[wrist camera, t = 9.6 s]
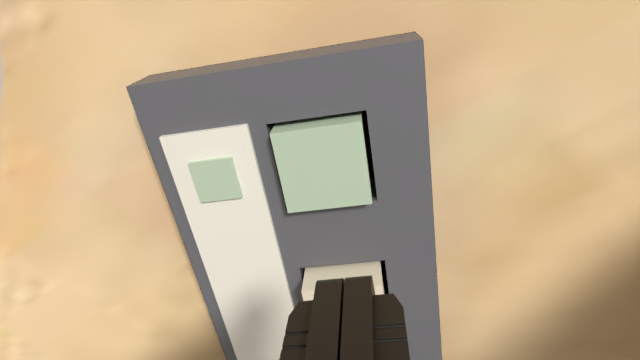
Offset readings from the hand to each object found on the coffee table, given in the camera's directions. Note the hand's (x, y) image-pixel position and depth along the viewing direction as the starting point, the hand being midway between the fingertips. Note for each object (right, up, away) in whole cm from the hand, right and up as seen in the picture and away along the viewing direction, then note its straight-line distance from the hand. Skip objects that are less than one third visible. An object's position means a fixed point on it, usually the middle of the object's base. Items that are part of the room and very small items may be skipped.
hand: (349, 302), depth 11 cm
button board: (-1, -4, +20) cm, 20 cm away
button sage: (0, +5, +15) cm, 16 cm away
